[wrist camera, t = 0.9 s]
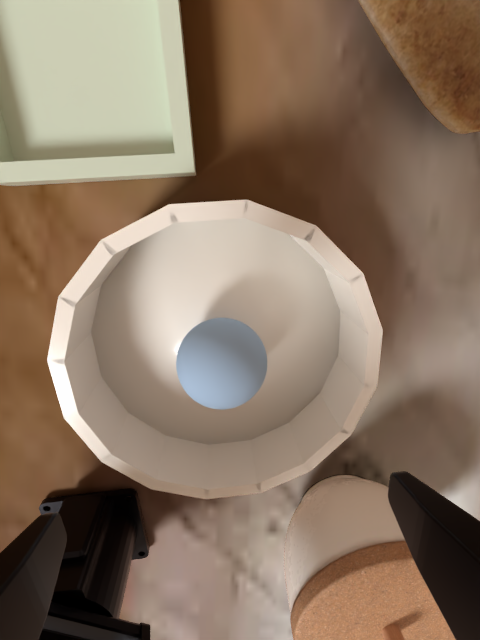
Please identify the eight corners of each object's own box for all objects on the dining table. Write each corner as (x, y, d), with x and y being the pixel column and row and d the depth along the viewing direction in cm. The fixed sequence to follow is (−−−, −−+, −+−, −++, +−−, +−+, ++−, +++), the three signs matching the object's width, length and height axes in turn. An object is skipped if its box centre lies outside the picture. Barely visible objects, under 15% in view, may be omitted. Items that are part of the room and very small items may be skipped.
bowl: (338, 428, 23) (367, 480, 18) (114, 452, 22) (91, 512, 17) (351, 193, 17) (397, 190, 13) (57, 211, 16) (4, 214, 12)
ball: (261, 375, 20) (276, 424, 15) (185, 382, 19) (178, 434, 15) (258, 302, 18) (274, 334, 14) (175, 309, 18) (164, 343, 13)
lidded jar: (247, 538, 26) (267, 713, 17) (307, 433, 23) (370, 579, 14) (361, 563, 28) (431, 729, 19) (429, 469, 25) (550, 616, 16)
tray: (196, 175, 16) (194, 172, 15) (12, 186, 16) (-14, 183, 14) (174, -63, 13) (168, -106, 11) (-55, -60, 13) (-101, -105, 11)
